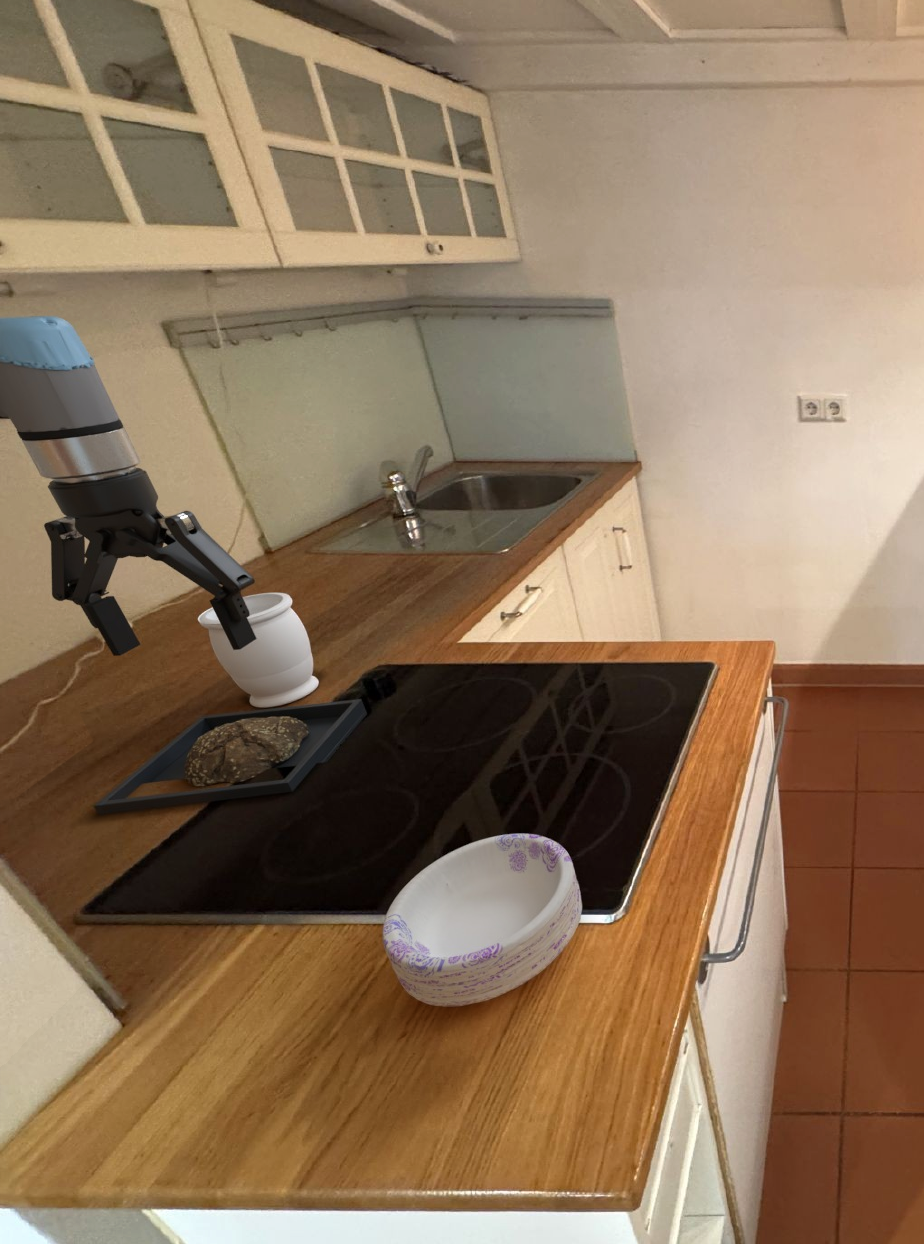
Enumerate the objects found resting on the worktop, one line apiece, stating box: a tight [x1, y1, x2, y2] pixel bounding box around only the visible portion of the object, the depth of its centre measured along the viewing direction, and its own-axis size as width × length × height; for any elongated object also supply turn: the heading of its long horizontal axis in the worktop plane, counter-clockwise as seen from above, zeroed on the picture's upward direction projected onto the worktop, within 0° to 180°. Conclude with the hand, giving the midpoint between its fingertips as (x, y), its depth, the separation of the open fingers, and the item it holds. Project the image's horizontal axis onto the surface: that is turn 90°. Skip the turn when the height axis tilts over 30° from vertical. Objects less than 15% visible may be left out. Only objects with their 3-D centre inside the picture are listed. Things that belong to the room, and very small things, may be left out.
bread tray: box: [93, 698, 368, 816], centre depth 91 cm, size 21×19×3 cm
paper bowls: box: [382, 833, 583, 1007], centre depth 63 cm, size 15×15×8 cm
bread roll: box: [184, 716, 309, 788], centre depth 90 cm, size 13×12×5 cm
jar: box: [197, 592, 320, 709], centre depth 104 cm, size 11×10×15 cm
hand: (186, 647), depth 83 cm, fingers open, 13 cm apart
